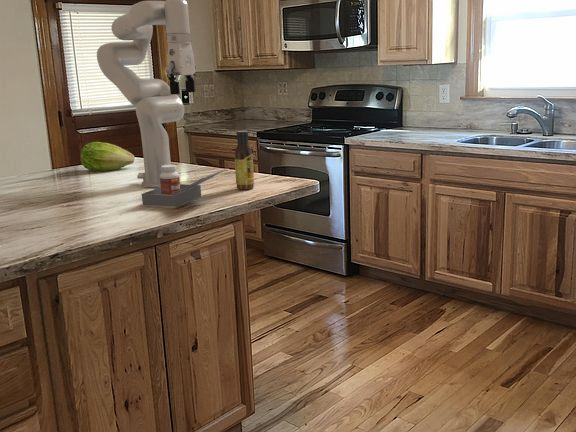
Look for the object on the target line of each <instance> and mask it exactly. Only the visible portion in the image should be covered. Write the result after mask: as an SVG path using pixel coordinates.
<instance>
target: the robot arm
mask: <svg viewBox="0 0 576 432" xmlns="http://www.w3.org/2000/svg"><path fill="white" fill-rule="evenodd" d="M154 26H165V33H166V42H167V53H166V54H167V65H166V67H165V68H164V70H165V73H166V77H167V78H168V83H169V84H168V83H167V82H166V81H164V80H163V79H159V78H146V79H145V78H141V77H140V76H138V74H137V73H136V72H135V71H134V70H132V69H131V68H129V67H127V66H138V65H141V64H142V63H143V62H144V60H145V58H146V56H147V53H148V50H149V46H150V43H151V41H152V37H153V33H154V32H153V30H154V29H153V28H154ZM190 29H191V28H190V17H189V4H188V2H187V0H142V1H138V2H137V3H134V4H132V5H131V6H130V7H129V10H128V13H127V12H126V13H125V14H123V15H119V17H117V18H115V19H114V20H113V22H112V24H111V32H112V34H113V35H114V37H115V38H117V39H118V40H121V41H123V42H119V41H118V42H108V43H107V42H106V43H104V44H102V45H100V46H99V47H98V49H97V51H96V60H97V63H98V66H99V68H100V70H101V72H102V73H103V76H105V77H106V78H107V79H108V81H110V83H112V84H113V85H114V86H116V88H117V89H118V90H119V92H120V93H121V94H122V95H123V96H124V97H125V98H126V100H127V101H128V102H129V103H130V104H131V105H132V106H135V114H136V117H137V121H138V125H139V130H140V136H141V145H142V156H143V166H144V172H138V174H137V175H136V176H137V177H136V178H137V179H140V180H141V179H142V182H141V186H142V187H144V188H152V189H156V188H159V187H161V185H160V174H161V173H162V172H163V171H162V170H161V166H163V165H172V161H171V151H170V138H169V134H168V132H167V130H166V129H165V128H164V126H163V125H162V124H166V123H174V122H175V123H176V122H178V121H180V120H181V119H183V117H184V116H185V105H184V102H183V101H182V99H181V98H180V97H179V96H178V95H181V94H180V93H181V92H180V81H179V77H180V76H184V78H185V93H195V92H196V88H195V87H196V85H195V80H196V70H197V69H196V67H197V66H196V64H195V62H196V61H195V54H194V51H193V46H192V42H191V30H190ZM124 41H125V42H124ZM129 41H130V42H129Z"/></svg>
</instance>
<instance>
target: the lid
mask: <svg viewBox="0 0 576 432" xmlns="http://www.w3.org/2000/svg"><path fill="white" fill-rule="evenodd" d="M227 170H229V169H228V168H224V169H222V170H220V171H216V172H215V173H212V174H209V175H207V176H205V177H204V176H203V177H202V178H199V179H198V180H196V181H195V182H192V183H191V184H190V183H189V186H187V187H185V188H183V189H181V190H179V191H177V192H175V194H176V193H178V192H181V191H183V190H186V189H188V188H191V187H193V186H196V185H201V184H202V183H204V182H206V181H208V180H210V179H211V178H213V177H216V176H217V175H219V174H221V173H223V172H224V171H227Z"/></svg>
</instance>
